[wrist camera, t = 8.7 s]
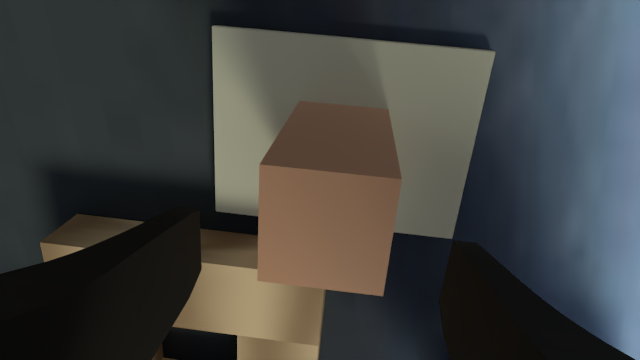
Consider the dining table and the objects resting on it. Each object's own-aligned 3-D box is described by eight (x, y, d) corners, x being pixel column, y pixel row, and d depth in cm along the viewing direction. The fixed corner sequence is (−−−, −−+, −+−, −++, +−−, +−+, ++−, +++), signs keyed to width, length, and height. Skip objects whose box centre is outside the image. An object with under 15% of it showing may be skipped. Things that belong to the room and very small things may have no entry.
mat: (491, 50, 18) (495, 52, 18) (450, 233, 22) (452, 239, 21) (216, 25, 19) (212, 26, 19) (219, 206, 23) (215, 211, 22)
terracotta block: (388, 109, 19) (401, 179, 12) (377, 190, 21) (383, 296, 14) (299, 100, 20) (259, 164, 12) (295, 181, 21) (257, 281, 14)
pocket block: (330, 244, 23) (325, 277, 20) (311, 425, 29) (305, 470, 26) (77, 213, 24) (39, 242, 21) (107, 395, 29) (81, 436, 27)
